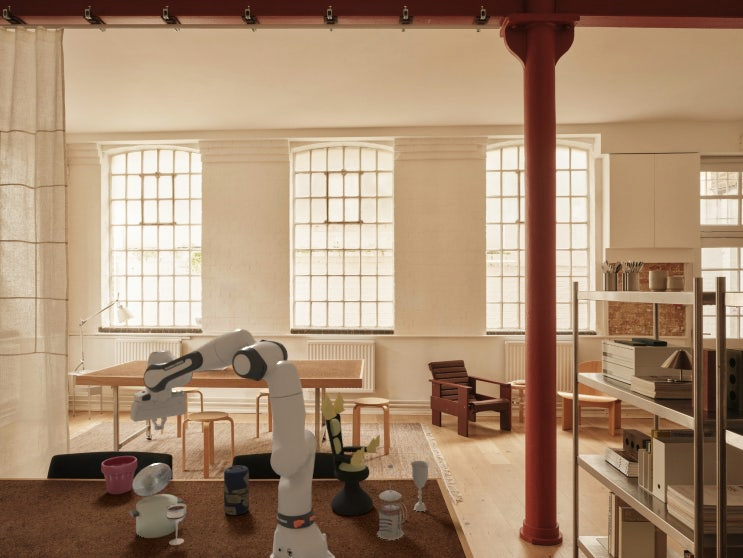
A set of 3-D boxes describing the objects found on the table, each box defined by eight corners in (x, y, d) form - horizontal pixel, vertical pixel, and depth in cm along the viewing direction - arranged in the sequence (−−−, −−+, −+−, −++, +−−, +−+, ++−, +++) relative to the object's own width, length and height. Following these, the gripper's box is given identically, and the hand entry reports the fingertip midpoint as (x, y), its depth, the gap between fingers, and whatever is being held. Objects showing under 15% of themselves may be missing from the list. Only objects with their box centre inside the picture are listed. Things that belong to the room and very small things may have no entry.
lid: (174, 461, 210) (172, 457, 212) (136, 469, 201) (134, 465, 203) (169, 490, 215) (167, 486, 217) (130, 500, 206) (129, 495, 207)
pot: (188, 528, 206) (188, 501, 206) (138, 543, 194) (137, 514, 194) (174, 516, 216) (174, 490, 216) (125, 529, 205) (125, 502, 205)
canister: (242, 518, 215) (242, 470, 214) (219, 515, 216) (219, 469, 216) (253, 507, 224) (252, 462, 224) (230, 506, 226) (230, 461, 226)
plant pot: (101, 487, 246) (101, 458, 246) (136, 482, 252) (136, 453, 252) (101, 499, 233) (101, 468, 233) (138, 493, 239) (137, 463, 239)
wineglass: (189, 536, 199) (189, 503, 199) (183, 546, 192) (183, 511, 192) (169, 537, 199) (169, 503, 199) (163, 546, 192) (163, 511, 192)
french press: (387, 525, 208) (387, 457, 208) (413, 534, 200) (413, 464, 200) (370, 535, 200) (370, 464, 200) (397, 544, 193) (397, 471, 193)
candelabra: (365, 521, 211) (364, 401, 211) (311, 513, 218) (310, 397, 218) (380, 502, 229) (380, 391, 229) (330, 495, 236) (330, 388, 236)
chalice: (408, 510, 221) (407, 464, 221) (414, 504, 227) (414, 459, 227) (425, 514, 217) (425, 467, 217) (431, 507, 223) (431, 462, 223)
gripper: (183, 388, 222) (182, 423, 223) (129, 394, 209) (128, 432, 209) (189, 391, 218) (189, 426, 218) (134, 398, 204) (134, 436, 205)
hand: (159, 429), depth 213 cm, fingers closed
